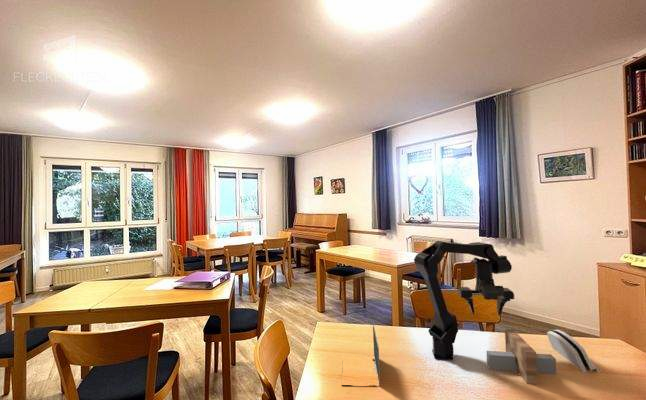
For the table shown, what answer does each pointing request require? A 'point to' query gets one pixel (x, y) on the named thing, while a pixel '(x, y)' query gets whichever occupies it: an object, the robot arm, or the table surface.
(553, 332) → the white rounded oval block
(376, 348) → the laptop
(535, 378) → the walnut slat
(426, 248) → the robot arm
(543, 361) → the notched gray bar
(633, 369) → the table surface
